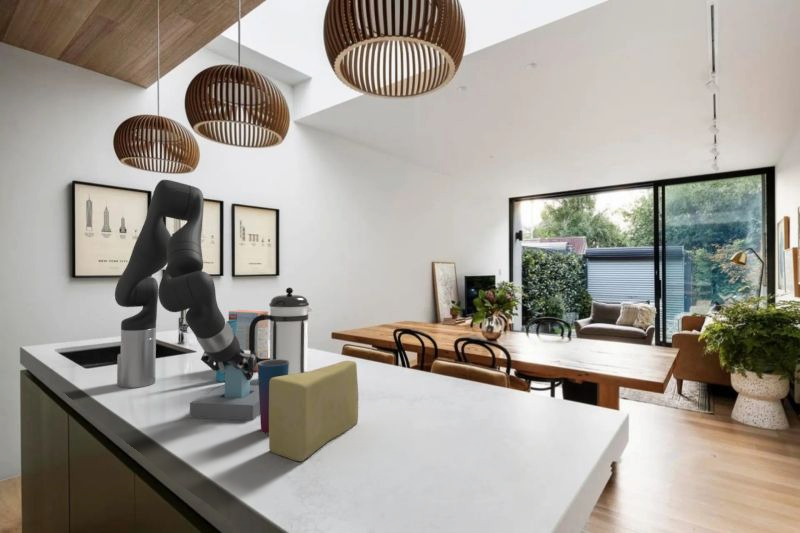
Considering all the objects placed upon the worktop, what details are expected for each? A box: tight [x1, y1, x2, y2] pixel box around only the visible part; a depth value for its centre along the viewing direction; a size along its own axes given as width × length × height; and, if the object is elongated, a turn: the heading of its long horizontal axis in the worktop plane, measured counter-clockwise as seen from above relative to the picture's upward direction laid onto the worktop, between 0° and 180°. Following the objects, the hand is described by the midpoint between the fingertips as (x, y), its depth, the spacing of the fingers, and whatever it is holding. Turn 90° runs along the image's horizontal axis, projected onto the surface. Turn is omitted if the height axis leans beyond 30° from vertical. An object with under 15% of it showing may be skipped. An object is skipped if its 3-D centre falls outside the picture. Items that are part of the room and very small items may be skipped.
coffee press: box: [249, 287, 314, 375], centre depth 138 cm, size 17×16×30 cm
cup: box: [257, 359, 289, 434], centre depth 93 cm, size 7×7×15 cm
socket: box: [189, 384, 260, 421], centre depth 108 cm, size 16×16×4 cm
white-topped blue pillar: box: [224, 350, 251, 398], centre depth 108 cm, size 4×4×12 cm
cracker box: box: [228, 309, 269, 373], centre depth 150 cm, size 14×6×21 cm, turn 65°
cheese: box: [268, 360, 359, 462], centre depth 89 cm, size 22×10×15 cm, turn 147°
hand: (241, 376), depth 110 cm, fingers closed on white-topped blue pillar, 4 cm apart
